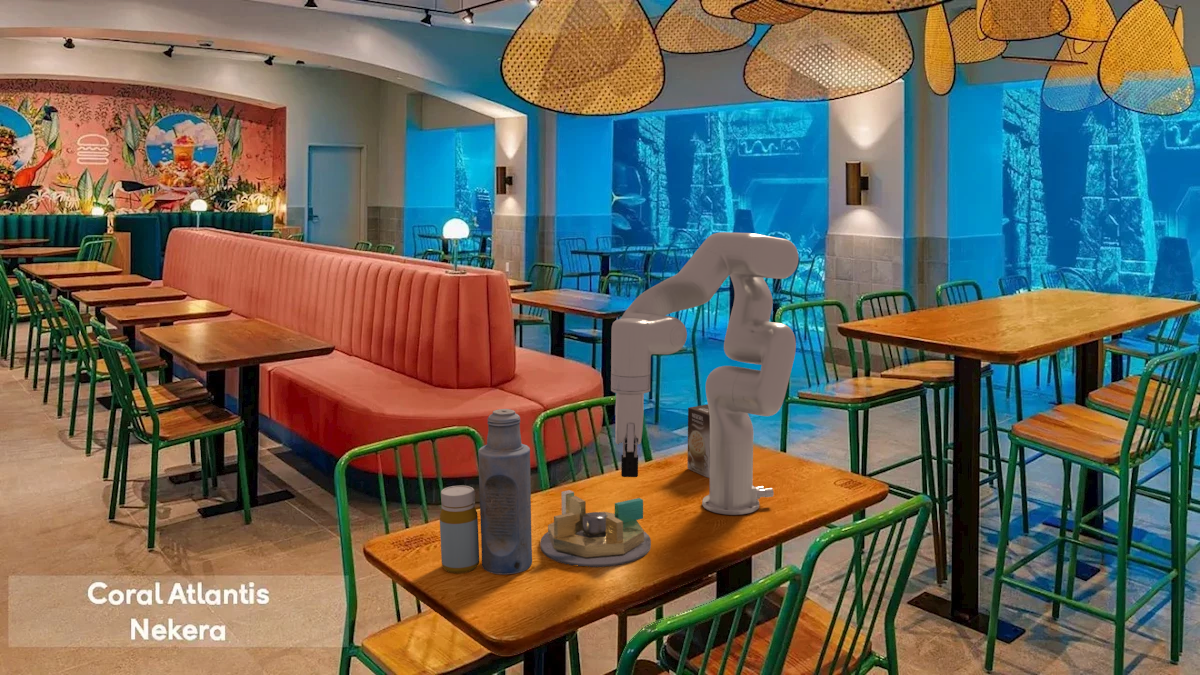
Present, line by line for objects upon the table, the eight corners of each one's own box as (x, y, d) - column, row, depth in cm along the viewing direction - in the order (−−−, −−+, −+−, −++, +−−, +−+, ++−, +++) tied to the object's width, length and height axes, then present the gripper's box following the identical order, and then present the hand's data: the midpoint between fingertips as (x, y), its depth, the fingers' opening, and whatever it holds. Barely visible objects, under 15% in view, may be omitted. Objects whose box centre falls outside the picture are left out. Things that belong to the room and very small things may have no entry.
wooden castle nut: (636, 519, 199) (636, 490, 198) (658, 550, 182) (658, 520, 181) (544, 526, 195) (543, 497, 194) (558, 559, 178) (557, 528, 177)
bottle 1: (487, 565, 179) (484, 489, 177) (459, 577, 174) (456, 499, 171) (461, 557, 183) (458, 482, 181) (434, 568, 178) (430, 491, 176)
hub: (635, 521, 202) (635, 485, 201) (663, 561, 180) (663, 521, 179) (533, 529, 198) (532, 492, 196) (549, 571, 176) (548, 530, 174)
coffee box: (686, 468, 239) (686, 407, 236) (706, 465, 242) (707, 403, 240) (707, 478, 231) (708, 414, 229) (728, 474, 234) (729, 411, 232)
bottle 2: (475, 574, 175) (470, 416, 170) (489, 554, 185) (485, 404, 180) (525, 577, 174) (522, 418, 169) (537, 556, 183) (534, 405, 178)
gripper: (611, 375, 188) (610, 465, 191) (610, 390, 173) (610, 487, 176) (648, 376, 188) (647, 465, 191) (651, 391, 173) (650, 487, 176)
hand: (629, 475), depth 183 cm, fingers closed
